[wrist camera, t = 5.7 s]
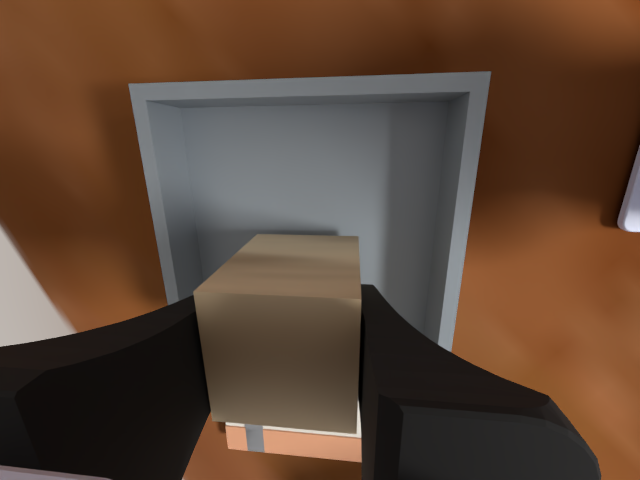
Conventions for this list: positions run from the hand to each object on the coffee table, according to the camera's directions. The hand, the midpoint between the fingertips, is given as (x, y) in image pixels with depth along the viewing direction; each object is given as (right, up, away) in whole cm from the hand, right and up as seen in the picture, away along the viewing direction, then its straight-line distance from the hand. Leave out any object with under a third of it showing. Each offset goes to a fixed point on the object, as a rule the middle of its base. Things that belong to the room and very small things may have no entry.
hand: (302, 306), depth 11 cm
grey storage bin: (+1, +3, +5) cm, 6 cm away
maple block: (0, +1, +1) cm, 2 cm away
